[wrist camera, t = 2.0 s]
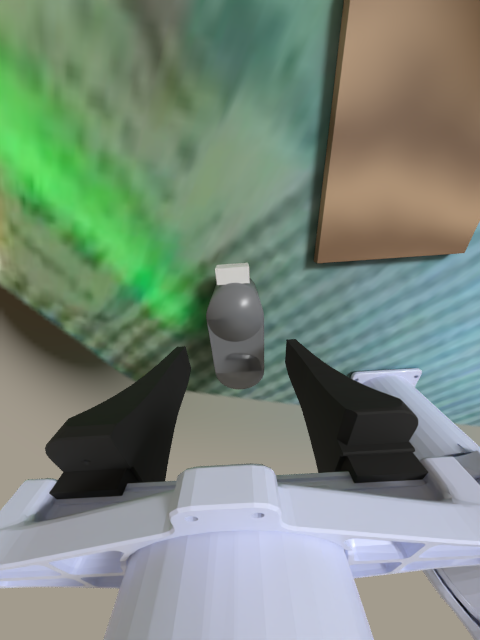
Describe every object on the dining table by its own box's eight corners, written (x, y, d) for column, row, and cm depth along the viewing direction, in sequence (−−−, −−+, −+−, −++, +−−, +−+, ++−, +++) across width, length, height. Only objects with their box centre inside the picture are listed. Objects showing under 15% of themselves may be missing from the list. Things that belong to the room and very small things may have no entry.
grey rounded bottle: (258, 352, 20) (264, 387, 16) (222, 354, 20) (218, 390, 16) (256, 258, 16) (263, 271, 11) (209, 261, 16) (199, 275, 11)
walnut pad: (453, 251, 16) (464, 252, 15) (313, 261, 16) (317, 263, 15) (584, -41, 9) (613, -63, 9) (346, -18, 9) (354, -38, 9)
